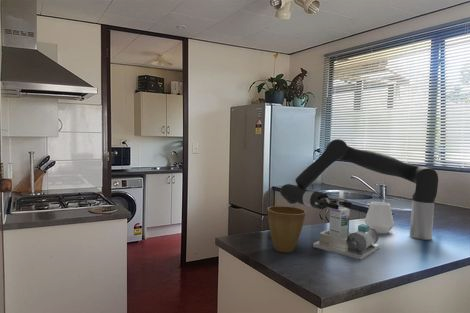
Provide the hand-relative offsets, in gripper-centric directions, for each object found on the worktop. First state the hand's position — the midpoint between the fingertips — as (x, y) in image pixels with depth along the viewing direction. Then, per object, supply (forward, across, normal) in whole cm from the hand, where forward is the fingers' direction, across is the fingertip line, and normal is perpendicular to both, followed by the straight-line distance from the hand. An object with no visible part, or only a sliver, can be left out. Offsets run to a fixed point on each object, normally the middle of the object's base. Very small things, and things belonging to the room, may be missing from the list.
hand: (344, 206), depth 143 cm
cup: (-9, +38, +18) cm, 43 cm away
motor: (+1, +1, +17) cm, 17 cm away
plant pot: (-8, -25, +17) cm, 31 cm away
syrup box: (-2, 0, +16) cm, 16 cm away
